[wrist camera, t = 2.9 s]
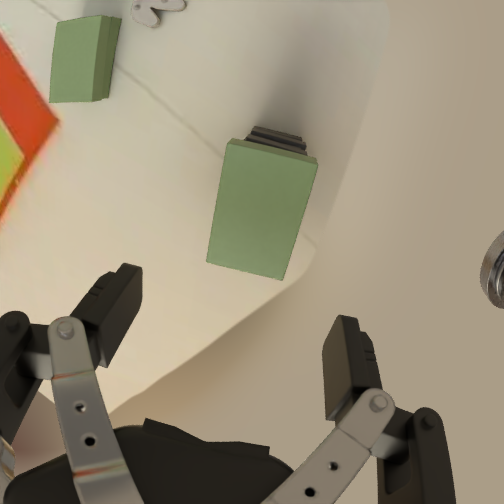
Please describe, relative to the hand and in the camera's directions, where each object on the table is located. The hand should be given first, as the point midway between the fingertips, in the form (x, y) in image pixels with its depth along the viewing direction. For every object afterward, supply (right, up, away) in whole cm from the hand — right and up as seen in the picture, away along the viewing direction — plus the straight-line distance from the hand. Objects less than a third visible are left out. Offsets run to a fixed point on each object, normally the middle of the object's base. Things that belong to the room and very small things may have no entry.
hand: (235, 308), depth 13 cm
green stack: (-15, +22, +12) cm, 30 cm away
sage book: (+1, +5, +9) cm, 11 cm away
